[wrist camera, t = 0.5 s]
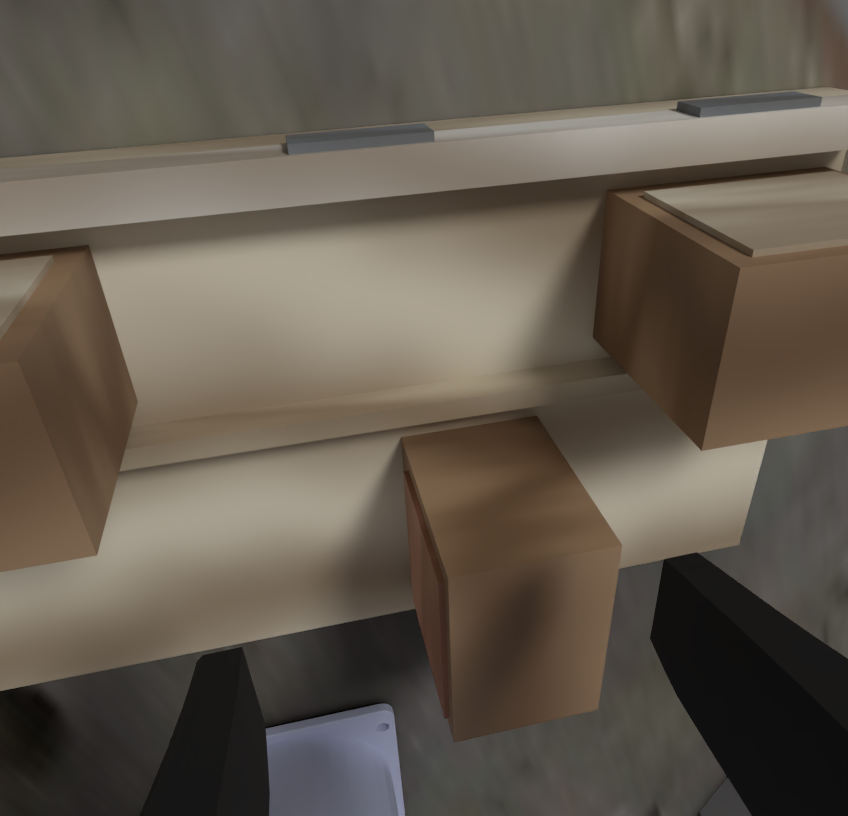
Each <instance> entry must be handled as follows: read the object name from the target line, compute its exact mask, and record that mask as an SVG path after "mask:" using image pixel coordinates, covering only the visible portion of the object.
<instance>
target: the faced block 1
mask: <svg viewBox="0 0 848 816" xmlns="http://www.w3.org/2000/svg"><path fill="white" fill-rule="evenodd" d="M137 403H138V400H137V397H136V394H135V391H134V388H133V384H132V381H131V378H130V375H129V372H128V368H127V365H126V362H125V359H124V356H123V352H122V349H121V346H120V343H119V340H118V336H117V333H116V330H115V327H114V324H113V321H112V317H111V314H110V311H109V308H108V305H107V301H106V298H105V295H104V292H103V289H102V285H101V282H100V279H99V276H98V273H97V269H96V266H95V263H94V260H93V257H92V253H91V250H90V247H89V245H84V246H74V247H65V248H55V249H46V250H37V251H27V252H18V253H8V254H0V572H5V571H10V570H16V569H22V568H28V567H33V566H39V565H45V564H51V563H57V562H62V561H68V560H74V559H80V558H86V557H91V556H97V554H98V550H99V546H100V542H101V539H102V535H103V531H104V527H105V524H106V520H107V516H108V512H109V508H110V505H111V501H112V497H113V493H114V490H115V486H116V482H117V478H118V475H119V471H120V467H121V463H122V459H123V456H124V452H125V448H126V444H127V441H128V437H129V433H130V429H131V426H132V422H133V418H134V414H135V411H136V407H137Z"/></svg>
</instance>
